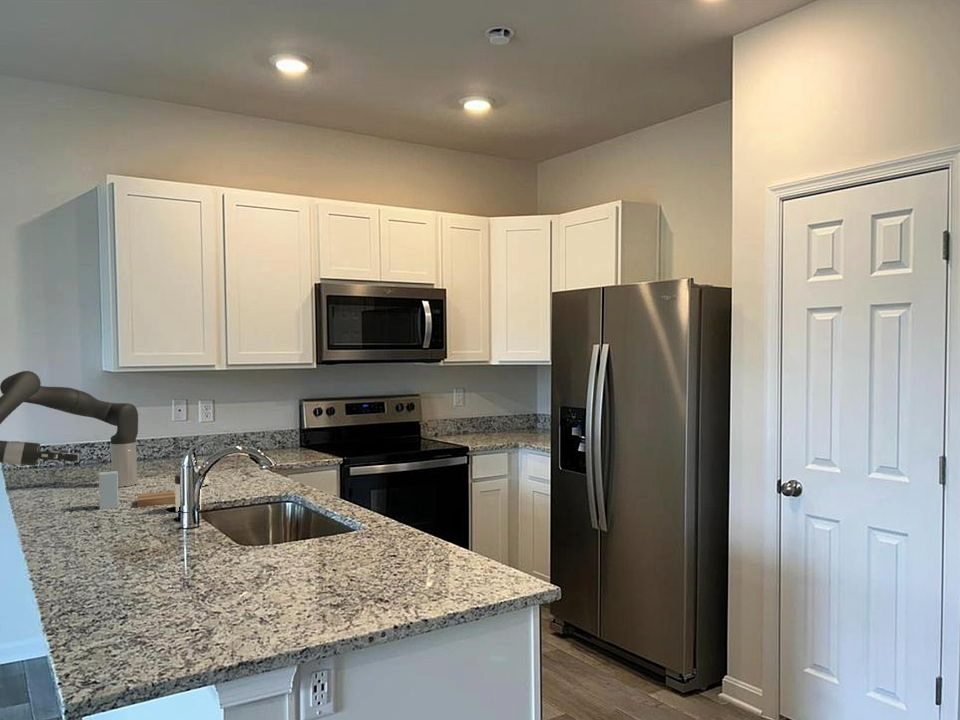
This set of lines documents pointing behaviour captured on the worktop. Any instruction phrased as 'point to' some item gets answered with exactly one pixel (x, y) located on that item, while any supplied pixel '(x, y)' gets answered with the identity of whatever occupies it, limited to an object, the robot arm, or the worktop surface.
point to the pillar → (108, 489)
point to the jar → (177, 492)
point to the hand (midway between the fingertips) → (77, 458)
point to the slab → (156, 499)
